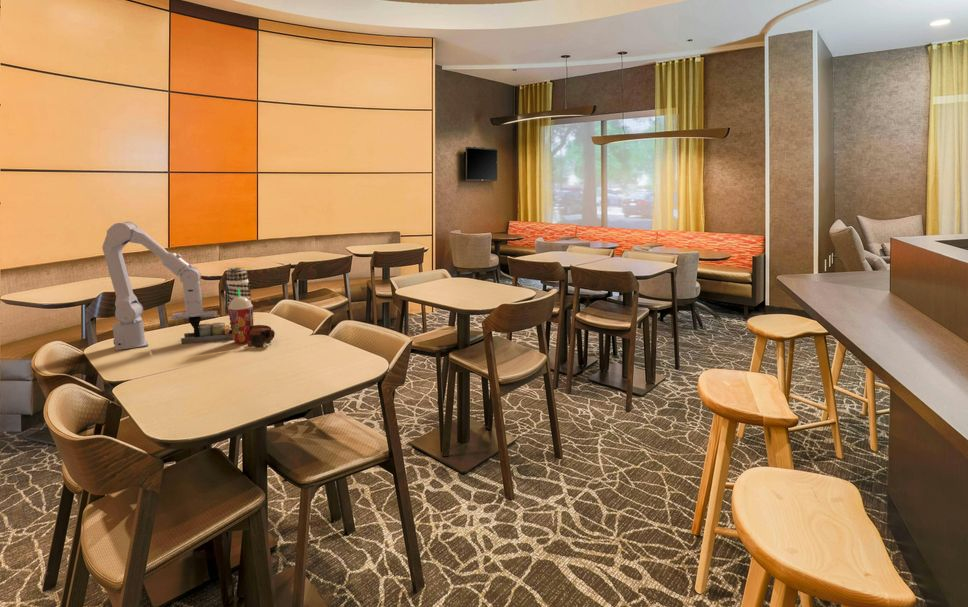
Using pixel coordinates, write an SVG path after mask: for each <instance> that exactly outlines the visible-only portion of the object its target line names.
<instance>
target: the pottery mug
mask: <svg viewBox="0 0 968 607" xmlns="http://www.w3.org/2000/svg"><path fill="white" fill-rule="evenodd" d="M253 325H254V324H253ZM248 333H249V334H250V337H251V340H250V341H248V342H247V347H249V348H251V347H252V348H253V347H256V348H258V347H261V348H264V347H265V344H267V345H269V344H271V343H272V341H273V340H274V338H275V335H276V332H275V331H274V329H272V327H271V326H269V325H264V324H256V325H254V326H251V327H250V330H249V331H248V332H247V334H248Z"/></svg>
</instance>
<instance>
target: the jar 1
mask: <svg viewBox="0 0 968 607" xmlns="http://www.w3.org/2000/svg"><path fill="white" fill-rule="evenodd" d="M212 324H213V323H199V337H200V336H212Z"/></svg>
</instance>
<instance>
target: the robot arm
mask: <svg viewBox="0 0 968 607" xmlns="http://www.w3.org/2000/svg"><path fill="white" fill-rule="evenodd" d="M128 243H132V244H139V245H142V246H144V247H145V248H146V249H147V250H148V251H150V252H151V253H153V254H154V255H156V256H157V257H158V258H159V259H161V264H162V265H163V267H165V268H166V269H168V270H169V271H170V272H172V273H173V274H174V275H176V277H178V278H179V280H180V282H181V283H182V286H183V288H182V289H183V298H184V307H185V308H184V310H185V312H184V311H183V312H175V313H172V314H171V319H172V321H175V320H183V319H188V322H189V324H190V325H191V327H192V328H193V333H194V337H199V325H200V324H201V320H202V318H211V317H214V318H216V317H218V311H217V310H204V306H203V305H204V304H203V296H202V295H203V294H202V288H201V281H200V280H201V277H202V273H201V271H200V270H199V268H197V267H196V266H193V264H191V263H188V262H187V261H186V260H185V259H183V258H182V255H181V254H180V253H176V252H169V251H167V249H165V248H164V247H163V246H162V245H161V244H160V243H159V242H157V241H156V240H155V239H154V238H153V237H152V236H151V235H149V234H148V233H147V232H146V231H145V230H144V229H142V227H139V226H137V224H136V223H134V222H131V221H123V222H117V223H116V222H115V223H113V225H111V226H110V227H109V228H108V229H107V230H106V236H105V238H104V241H103V244H102V250H103V251H102V252H103V255H104V256H103V257H104V259H105V262H106V266H107V269H108V272H109V275H110V280H111V284H112V286H113V291H114V293H115V303H114V306H115V311H114V316H115V319H116V320H117V321H118V322H117V323H112V325H111V326H112V333H113V345H114V347H115V351H120V350H127V349H135V348H141V347H148V346H149V345H148V342H147V340H146V337H145V329H144V322H143V318H142V317H141V316H142V315H143V313H144V307H143V305H142V304H141V303H140V302H139V301H138V300H139V299H138V297H137V295H136V294H135V293H134V290H133V288H132V284H131V280H130V277H129V273H128V269H127V266H126V262H125V258H124V254H123V252H122V251H123V249H124V247H126V246H127V245H128Z"/></svg>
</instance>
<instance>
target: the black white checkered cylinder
mask: <svg viewBox="0 0 968 607" xmlns="http://www.w3.org/2000/svg"><path fill="white" fill-rule="evenodd" d="M248 272H249V271H248V270H246V269H245V268H244V267H231V268H228V269H227V270H226V272H225V274H226V286H225V290H226V291H225V293H226V294H227V295H226V301H227V303H228V305H229V304H230V302H231V301H232V300H233V299H234V298H236V297H239V296H238V289H240V296H242V297H245V298H247V299H248V300H249V301H250V302H251V301H252V299H251V298H250V297H251V296H252V293H250V292H252V290H251V289H249V288H251V284H250V283H251V281H249V278H248ZM253 326H254V324H253ZM229 329H230V330H231V329H232V328H231V323H230V322H229Z"/></svg>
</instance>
